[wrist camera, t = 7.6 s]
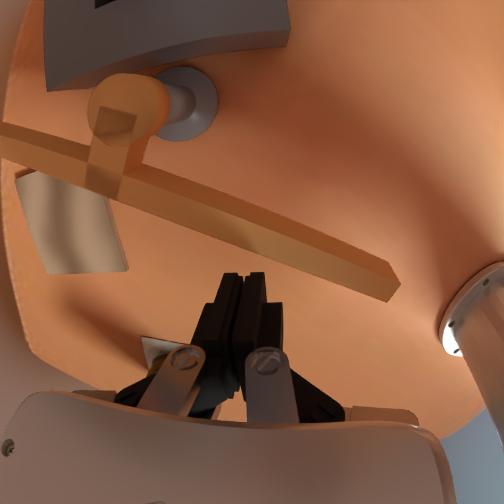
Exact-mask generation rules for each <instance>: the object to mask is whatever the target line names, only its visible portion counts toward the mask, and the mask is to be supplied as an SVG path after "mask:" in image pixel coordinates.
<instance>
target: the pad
mask: <svg viewBox="0 0 504 504" xmlns="http://www.w3.org/2000/svg"><path fill="white" fill-rule="evenodd" d="M14 181H15V184H16V188H17V192H18V195H19V199H20V202H21V205H22V209H23V212H24V215H25V218H26V221H27V224H28V227H29V229H30V232H31V235H32V238H33V240H34V243H35V246H36V248H37V251H38V253H39V256H40V258H41V260H42V263H43V265H44V268H45V270H46V272H47V274H77V273H106V272H126V271H127V270H128V269H129V266H128V263H127V260H126V257H125V254H124V251H123V248H122V245H121V242H120V239H119V235H118V232H117V229H116V225H115V222H114V219H113V215H112V211H111V208H110V204H109V200H108V197H105V196H102V195H100V194H97V193H95V192H92V191H89V190H87V189H84V188H81V187H79V186H76V185H73V184H71V183H68V182H65V181H63V180H60V179H57V178H55V177H52V176H49V175H47V174H44V173H41V172H39V171H35V172H32V173H29V174H27V175H24V176H22V177H19V178H17V179H15V180H14Z"/></svg>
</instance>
